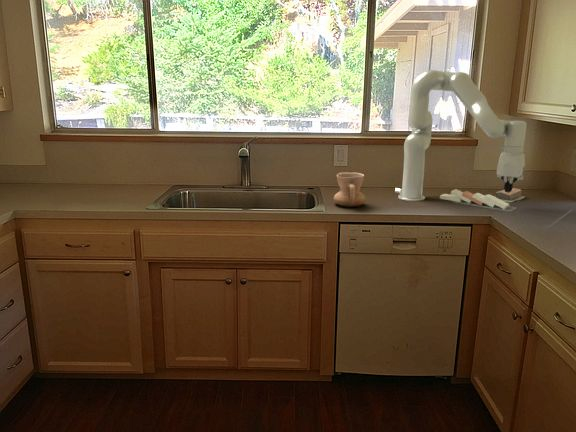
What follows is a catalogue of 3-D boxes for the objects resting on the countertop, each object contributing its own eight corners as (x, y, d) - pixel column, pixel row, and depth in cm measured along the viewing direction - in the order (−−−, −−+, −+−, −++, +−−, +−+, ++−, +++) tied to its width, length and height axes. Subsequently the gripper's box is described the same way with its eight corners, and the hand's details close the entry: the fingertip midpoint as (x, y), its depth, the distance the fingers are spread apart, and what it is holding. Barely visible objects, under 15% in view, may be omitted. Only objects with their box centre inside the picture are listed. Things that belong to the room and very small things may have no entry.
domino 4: (492, 207, 206) (472, 197, 212) (496, 205, 210) (476, 195, 215) (494, 204, 206) (473, 194, 211) (498, 202, 209) (478, 192, 214)
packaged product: (505, 186, 234) (526, 189, 227) (504, 195, 235) (525, 198, 228) (490, 191, 222) (511, 194, 215) (489, 200, 223) (510, 204, 216)
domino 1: (460, 202, 216) (439, 198, 223) (464, 200, 220) (444, 196, 226) (460, 198, 216) (440, 195, 222) (464, 196, 219) (444, 193, 226)
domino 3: (481, 205, 210) (461, 195, 215) (485, 203, 213) (465, 193, 218) (482, 202, 209) (462, 192, 214) (486, 200, 212) (467, 190, 218)
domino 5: (504, 209, 203) (483, 198, 208) (508, 207, 207) (487, 197, 212) (505, 206, 202) (484, 195, 208) (509, 204, 206) (488, 194, 211)
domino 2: (469, 203, 213) (450, 193, 218) (473, 201, 217) (454, 191, 222) (470, 200, 212) (451, 190, 218) (475, 198, 216) (456, 189, 221)
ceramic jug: (332, 200, 220) (333, 170, 216) (363, 200, 219) (364, 171, 215) (334, 210, 203) (335, 178, 199) (367, 210, 202) (368, 179, 198)
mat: (451, 203, 216) (451, 201, 216) (460, 199, 223) (460, 198, 223) (509, 213, 199) (510, 211, 199) (517, 208, 206) (517, 207, 206)
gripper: (492, 149, 200) (487, 190, 205) (529, 152, 191) (523, 195, 195) (498, 147, 206) (493, 188, 211) (534, 150, 196) (528, 193, 201)
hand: (507, 191), depth 203 cm, fingers closed
